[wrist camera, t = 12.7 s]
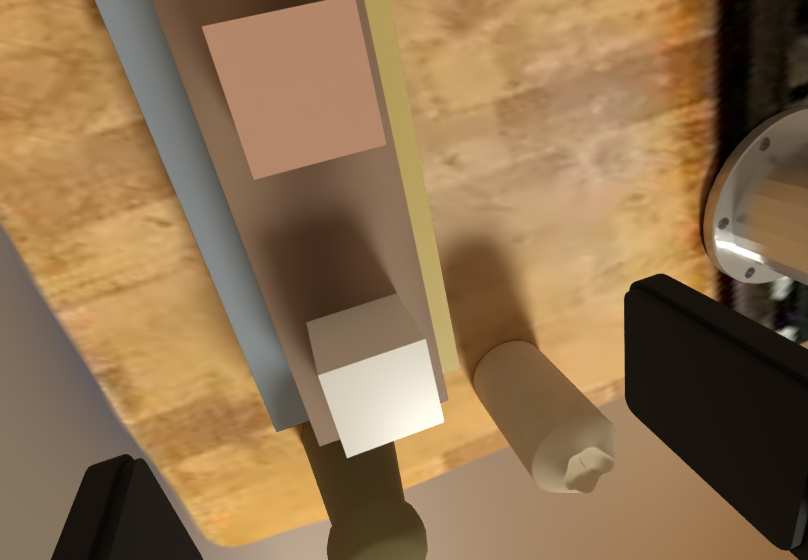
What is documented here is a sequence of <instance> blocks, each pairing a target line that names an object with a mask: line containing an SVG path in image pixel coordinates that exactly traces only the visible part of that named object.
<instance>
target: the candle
mask: <svg viewBox="0 0 808 560" xmlns="http://www.w3.org/2000/svg"><path fill="white" fill-rule="evenodd" d="M473 385H474V389H475V392H476V394H477V396H478V398H479V399H480V401H481V403H482V404H483V406H484V407H485V409H486V410H487V412H488V413H489V415H490V416H491V418H492V419H493V421H494V422H495V424H496V425H497V426H498V428H499V429H500V431H501V432H502V434H503V435H504V437H505V438H506V440H507V441H508V443H509V444H510V446H511V447H512V449H513V450H514V452H515V453H516V455H517V456H518V458H519V459H520V461H521V462H522V464H523V465H524V466H525V468H526V469H527V471H528V472H529V474H530V475H531V476H532V478H533V480H534V481H535V483H536V484H537V485H538V486H540V487H541V488H542V489H544V490H547V491H551V492H562V493H573V492H574V493H584V494H588V493H591V492H592V491H593V490H594V489H595V487H596V485H597V483H598V481H599V479H600V478H601V476H603V475H605V474H607V473H609V472H610V471H612V469H613V468H614V466H615V453H616V445H617V433H616V430H615V427H614V426H613V424H612V423H611V422H610V421H609V420H608V419H607V418H606V417H605V416H604V415H603V414H602V413H601V412H600V411H599V410H598V409H597V408H596V407H595V406H594V405H593V404H592V403H591V402H590V401H589V400H588V399H587V398H586V397H585V396H584V395H583V394H582V393H581V392H580V391H579V390H578V388H577V387H576V386H575V385H574V384H573V383H572V382H571V381H570V380H569V379H568V378H567V377H566V376H565V375H564V374H563V373H562V372H561V371H560V370H559V369H558V368H557V367H556V366H555V365H554V364H553V363H552V362H551V361H550V360H549V359H548V358H547V357H546V356H545V355H544V354H543V353H542V352H541V351H540V350H539V349H538V348H536V347H535V346H533V345H532V344H530V343H528V342H525V341H516V340H515V341H508V342H505V343H502V344H500V345H498V346H496V347H494V348H493V349H491V350H490V351H489V352H488V353H487V354H485V356H484V357H483V358H482V359H481V360H480V362H479V363H478V365H477V367H476V370H475V373H474V378H473Z"/></svg>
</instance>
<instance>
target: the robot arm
mask: <svg viewBox="0 0 808 560" xmlns="http://www.w3.org/2000/svg"><path fill="white" fill-rule="evenodd" d="M703 232H704V243H705V246H706V250H707V253H708V255H709V257H710V259H711V261H712V262H713V264H714V265H715V266H716V267H717V268H718V269H719V270H720V271H721V272H723V273H724V274H726V275H728V276H730V277H732V278H734V279H737V280H739V281H742V282H745V283H764V282H770V281H773V280H776V279H779V278H782V277H784V276H787V277H789V278H792V279H794V280H797V281H799V282H801V283H804V284H806V285H808V106H807V107H796V108H792V109H789V110H786V111H782V112H780V113H778V114H776V115H775V116H773V117H771V118H769V119H767V120H766V121H764V122H763V123H762V124H760V125H759V126H758V127H756V128H755V129H753V130H752V131H751V132H750V133H749V134H748V135H747V136H746V137H745V138H744V139H743V140H742V141H741V142H740V143H739V144H738V145H737V147H736V148H735V149H734V151H733V152H732V153H731V154H730V156H729V157H728V158H727V160H726V161H725V163H724V165H723V166H722V168H721V170H720V172H719V173H718V175H717V177H716V179H715V182H714V184H713V186H712V189H711V191H710V193H709V197H708V201H707V204H706V208H705V215H704V224H703ZM624 338H625V399H626V402H627V405H628V407H629V409H630V410H631V412H632V413H633V414H634V415H635V416H636V417H637V418H638V419H639V420H640V421H641V422H642V423H643V424H645V425H646V426H647V427H648V428H649V429H650V430H651V431H652V432H653V433H654V434H655V435H656V436H657V437H659V438H660V439H661V440H662V441H663V442H664V443H665V444H666V445H667V446H668V447H669V448H671V450H672V451H673V452H675V453H676V454H677V455H678V456H679V457H680V458H681V459H682V460H683V461H684V462H685V463H686V464H687V465H689V466H690V467H691V468H692V469H693V470H694V471H695V472H696V473H697V474H698V475H699V476H700V477H701V478H702V479H703V480H705V481H706V482H707V483H708V484H709V485H710V486H711V487H712V488H713V489H714V490H715V491H716V492H717V493H718V494H720V495H721V496H722V497H723V498H724V499H725V500H726V501H727V502H728V503H729V504H730V505H731V506H733V507H734V509H736V510H737V511H738V512H739V513H740V514H741V515H742V516H743V517H744V518H745V519H746V520H747V521H748V522H750V523H751V524H752V525H753V526H754V527H755V528H756V529H757V530H758V531H759V532H760V533H761V534H762V535H763V536H765V537H766V538H767V539H768V540H769V541H770V542H771V543H772V544H773V545H775V546H776V547H778V548H779V549H781V550H789V551H790V552H791V553H792V554H793V555H794V556H796V557H797V558H798V559H799V560H808V349H806V348H805V347H803V346H801V345H799V344H797V343H795V342H793V341H791V340H789V339H787V338H785V337H784V336H782V335H780V334H778V333H776V332H774V331H772V330H770V329H768V328H766V327H765V326H763V325H761V324H759V323H757V322H755V321H753V320H751V319H749V318H747V317H746V316H744V315H742V314H740V313H738V312H736V311H734V310H732V309H730V308H728V307H727V306H725V305H723V304H721V303H719V302H717V301H715V300H713V299H711V298H709V297H708V296H706V295H704V294H702V293H700V292H698V291H696V290H694V289H692V288H690V287H689V286H687V285H685V284H683V283H681V282H679V281H677V280H675V279H673V278H671V277H669V276H668V275H665V274H656V275H653V276H650V277H647V278H645V279H642V280H639V281H636V282H634V283H632V284H631V286H630V289H629V292H627V293H626V294H625V297H624ZM51 560H203V558H202V556H201V554H200V552H199V551H198V549H197V547H196V546H195V544H194V543H193V541H192V539H191V537H190V536H189V534H188V532H187V530H186V529H185V527H184V526H183V524H182V522H181V520H180V519H179V517H178V515H177V514H176V512H175V510H174V509H173V507H172V505H171V503H170V502H169V500H168V498H167V497H166V495H165V493H164V492H163V490H162V488H161V487H160V485H159V483H158V481H157V480H156V478H155V476H154V475H153V473H152V471H151V470H150V468H149V466H148V465H147V463H146V462H145V461H144V460H143V459H141V458H139V459H136V460H134V459H133V458H132V457H131V456H130V455H128V454H124V455H121V456H118V457H115V458H112V459H109V460H106V461H103V462H100V463H97V464H94V465H91V466H90V467H88V469H87V471H86V472H85V475H84V477H83V479H82V482H81V485H80V487H79V490H78V492H77V495H76V497H75V500H74V502H73V505H72V507H71V510H70V513H69V515H68V518H67V520H66V523H65V525H64V528H63V530H62V533H61V535H60V538H59V541H58V543H57V545H56V548H55V551H54V553H53V556H52V558H51Z"/></svg>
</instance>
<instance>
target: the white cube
mask: <svg viewBox="0 0 808 560" xmlns="http://www.w3.org/2000/svg"><path fill="white" fill-rule="evenodd" d="M306 324H307V328H308V333H309V337H310V342H311V346H312V351H313V356H314V360H315V365H316V369H317V374H318V377H319V380H320V383H321V386H322V389H323V391H324V394H325V397H326V400H327V403H328V405H329V408H330V411H331V414H332V417H333V420H334V422H335V425H336V428H337V431H338V434H339V437H340V439H341V442H342V445H343V448H344V451H345V454H346V456H347V458H349V457H352V456H354V455H357V454H360V453H362V452H365V451H368V450H371V449H373V448H376V447H379V446H381V445H384V444H387V443H389V442H392V441H395V440H398V439H400V438H403V437H406V436H408V435H411V434H414V433H417V432H419V431H422V430H425V429H427V428H430V427H433V426H435V425H438V424H441V423H444V418H443V414H442V409H441V405H440V400H439V396H438V391H437V387H436V382H435V378H434V373H433V369H432V365H431V360H430V356H429V351H428V347H427V342H426V339H425V337H424V335H423V334H422V332H421V331H420V329H419V327H418V326H417V324H416V323H415V321H414V319H413V318H412V316H411V315H410V313H409V311H408V310H407V308H406V307H405V305H404V304H403V302H402V300H401V299H400V297H399V296H398V294H397V293H396V294H393V295H390V296H387V297H383V298H380V299H377V300H374V301H371V302H368V303H365V304H362V305H359V306H355V307H352V308H349V309H346V310H343V311H340V312H337V313H334V314H331V315H328V316H324V317H321V318H318V319H315V320H312V321H309V322H306Z"/></svg>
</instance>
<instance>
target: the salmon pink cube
mask: <svg viewBox="0 0 808 560" xmlns="http://www.w3.org/2000/svg"><path fill="white" fill-rule="evenodd" d="M202 29H203V32H204V35H205V38H206V41H207V44H208V47H209V50H210V53H211V56H212V59H213V61H214V64H215V67H216V70H217V73H218V76H219V79H220V82H221V85H222V88H223V91H224V94H225V97H226V100H227V103H228V105H229V108H230V111H231V114H232V117H233V120H234V123H235V126H236V129H237V132H238V135H239V138H240V141H241V144H242V147H243V150H244V152H245V155H246V158H247V161H248V164H249V167H250V170H251V173H252V176H253V179H254V180H255V179H259V178H263V177H267V176H270V175H274V174H278V173H282V172H285V171H289V170H293V169H297V168H300V167H304V166H308V165H312V164H316V163H319V162H323V161H327V160H331V159H334V158H338V157H342V156H346V155H350V154H353V153H357V152H361V151H365V150H368V149H372V148H376V147H380V146H384V145H387V144H386V140H385V135H384V130H383V126H382V121H381V116H380V112H379V107H378V102H377V98H376V93H375V88H374V84H373V79H372V74H371V69H370V65H369V60H368V55H367V51H366V46H365V41H364V37H363V32H362V27H361V23H360V18H359V13H358V9H357V4H356V0H324V1H320V2H315V3H310V4H305V5H301V6H296V7H291V8H287V9H282V10H277V11H273V12H268V13H263V14H258V15H254V16H249V17H244V18H240V19H235V20H230V21H226V22H221V23H216V24H212V25H207V26H202Z"/></svg>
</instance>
